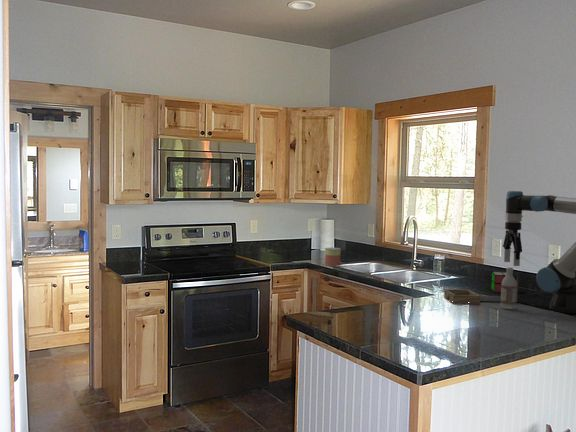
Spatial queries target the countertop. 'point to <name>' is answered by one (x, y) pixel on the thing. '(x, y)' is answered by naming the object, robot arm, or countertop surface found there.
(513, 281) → the bath foam
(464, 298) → the brown shallow tray
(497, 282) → the puzzle cube
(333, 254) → the canned food
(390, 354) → the countertop surface
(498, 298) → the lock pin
